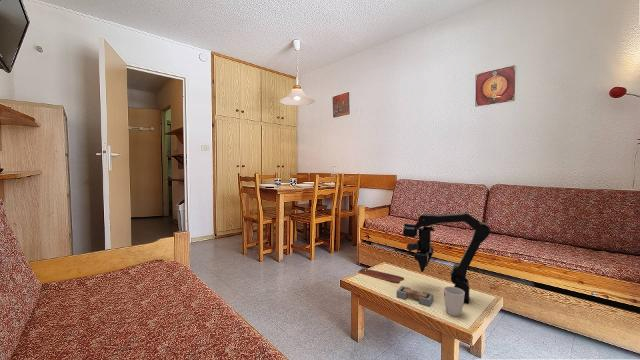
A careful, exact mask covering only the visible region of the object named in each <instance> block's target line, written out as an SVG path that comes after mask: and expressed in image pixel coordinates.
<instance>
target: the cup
mask: <svg viewBox="0 0 640 360" xmlns="http://www.w3.org/2000/svg"><path fill="white" fill-rule="evenodd" d="M464 295H465V292H464V291H463V290H462V289H459V288H456V287H454V286H444V287H443V299H444V305H445V309H446V312H447V314H448V315H450V316H453V317H460V315H461V312H462V311H463V306H464Z"/></svg>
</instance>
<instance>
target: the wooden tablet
mask: <svg viewBox="0 0 640 360" xmlns="http://www.w3.org/2000/svg"><path fill="white" fill-rule="evenodd" d="M365 270H366V271H365ZM357 273H359V274H360V275H364V276H368V277H372V278H377V279H378V280H379V279H380V280H383V281H385V282H391V283H395V284H397V285H398V284H400V283H401V282H403V281H404V280H405V277H402V276H399V275H395V274H391V273H388V272H383V271H378V270H374V269H370V268H369V270H368V268H364V267H363V268H361V269H359V270H358V272H357Z"/></svg>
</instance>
